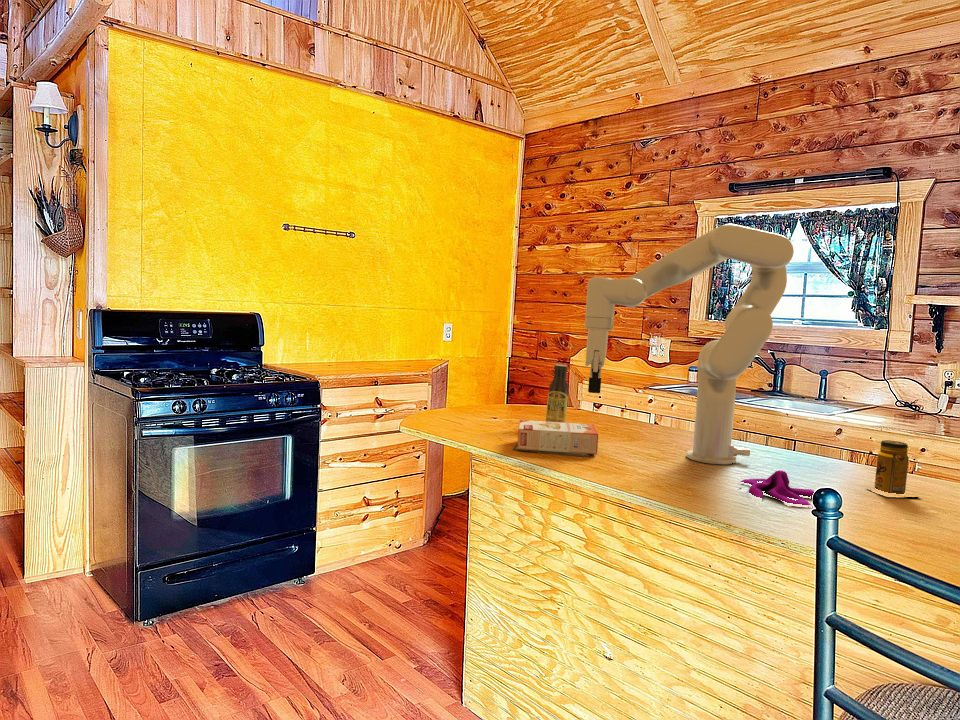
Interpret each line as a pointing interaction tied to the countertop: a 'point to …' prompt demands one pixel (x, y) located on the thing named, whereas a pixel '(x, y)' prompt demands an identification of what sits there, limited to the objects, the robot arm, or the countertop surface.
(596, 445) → the cracker box
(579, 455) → the mat
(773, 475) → the cloth
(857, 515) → the countertop surface
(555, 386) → the sauce bottle
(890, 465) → the condiment
